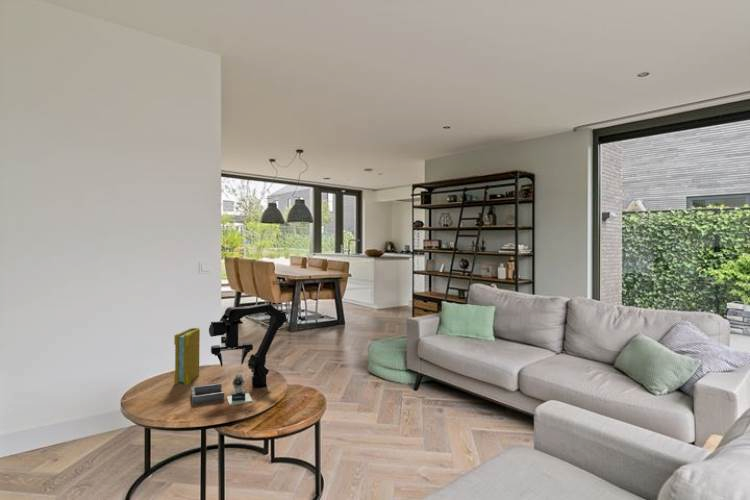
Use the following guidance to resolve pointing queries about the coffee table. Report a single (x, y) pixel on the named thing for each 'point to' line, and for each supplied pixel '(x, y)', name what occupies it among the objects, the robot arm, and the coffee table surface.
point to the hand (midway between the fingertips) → (231, 365)
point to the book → (186, 355)
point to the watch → (238, 388)
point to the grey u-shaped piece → (206, 397)
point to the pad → (247, 400)
